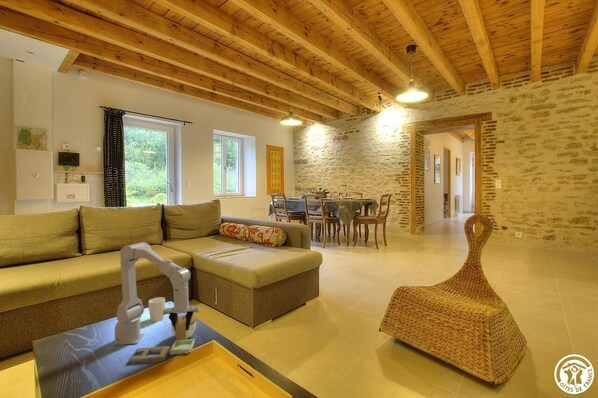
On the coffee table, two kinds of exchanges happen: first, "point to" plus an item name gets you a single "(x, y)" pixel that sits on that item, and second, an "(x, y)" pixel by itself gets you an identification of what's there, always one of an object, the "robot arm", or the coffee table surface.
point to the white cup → (156, 309)
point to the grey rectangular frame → (143, 353)
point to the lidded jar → (191, 327)
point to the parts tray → (182, 346)
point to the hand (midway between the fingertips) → (182, 329)
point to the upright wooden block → (181, 330)
